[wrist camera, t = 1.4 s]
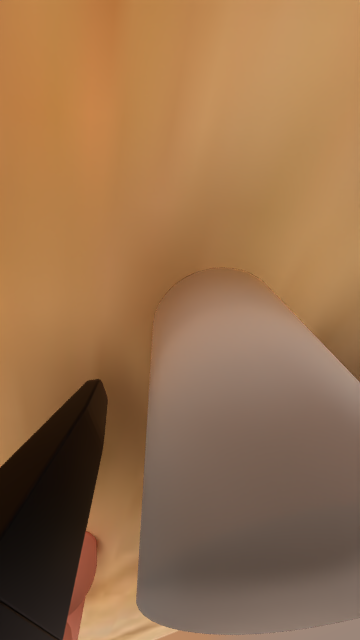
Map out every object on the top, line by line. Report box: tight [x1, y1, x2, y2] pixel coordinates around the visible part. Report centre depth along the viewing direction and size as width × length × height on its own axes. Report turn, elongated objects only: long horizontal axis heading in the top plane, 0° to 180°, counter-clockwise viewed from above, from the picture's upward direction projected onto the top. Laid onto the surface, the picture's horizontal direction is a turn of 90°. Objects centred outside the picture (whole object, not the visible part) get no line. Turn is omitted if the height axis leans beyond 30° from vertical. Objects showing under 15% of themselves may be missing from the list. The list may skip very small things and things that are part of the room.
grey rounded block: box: [136, 268, 360, 635], centre depth 8 cm, size 6×7×8 cm
